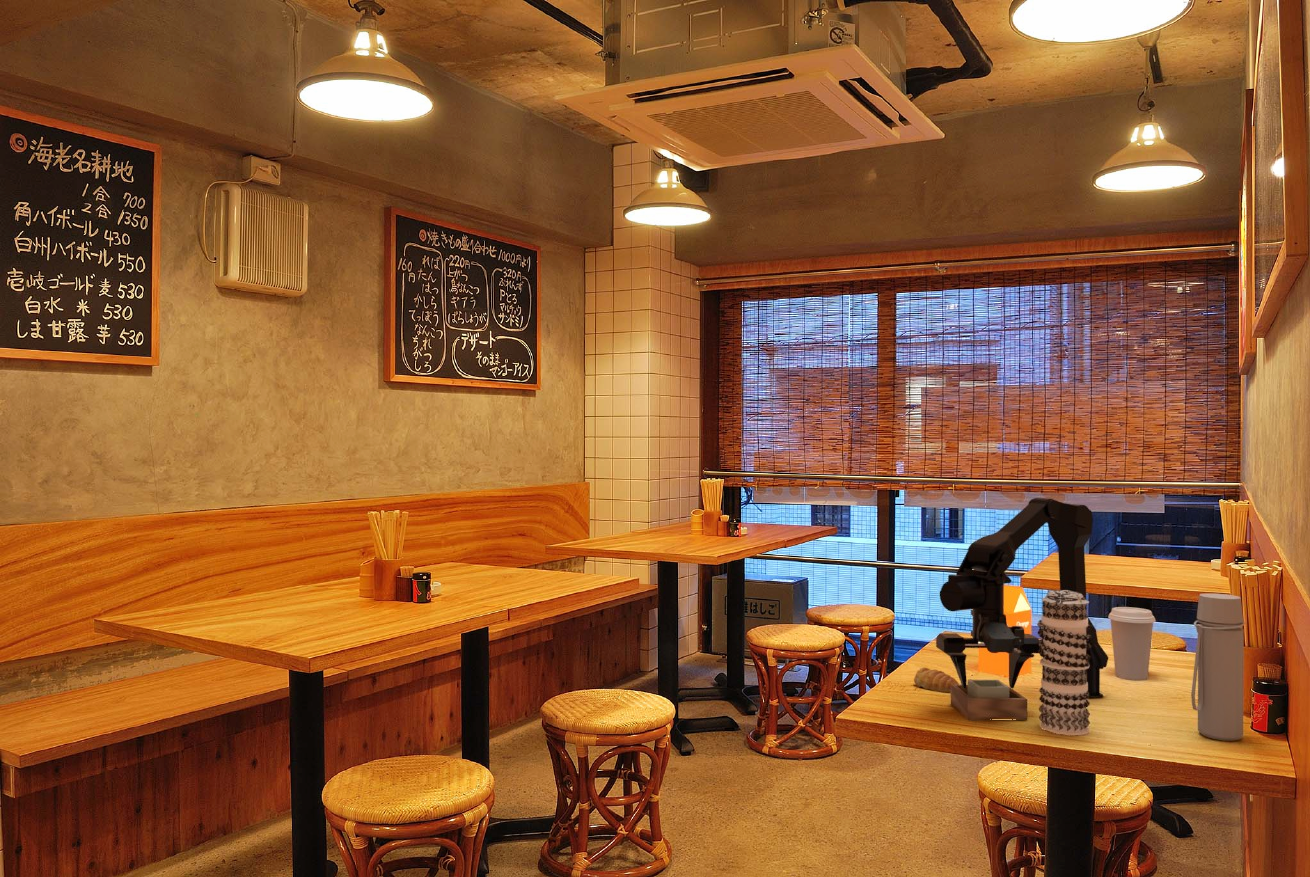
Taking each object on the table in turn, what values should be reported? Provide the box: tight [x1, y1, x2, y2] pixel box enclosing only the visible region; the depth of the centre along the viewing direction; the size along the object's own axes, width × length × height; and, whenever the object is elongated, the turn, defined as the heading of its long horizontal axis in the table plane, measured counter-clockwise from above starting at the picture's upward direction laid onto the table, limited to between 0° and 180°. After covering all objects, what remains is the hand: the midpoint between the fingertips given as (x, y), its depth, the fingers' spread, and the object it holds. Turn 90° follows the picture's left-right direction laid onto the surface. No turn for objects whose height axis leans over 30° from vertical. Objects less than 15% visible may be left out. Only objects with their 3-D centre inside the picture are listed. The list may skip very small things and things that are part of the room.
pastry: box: [913, 667, 960, 693], centre depth 206 cm, size 9×7×4 cm
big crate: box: [950, 684, 1028, 721], centre depth 188 cm, size 11×11×4 cm
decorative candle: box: [1036, 589, 1094, 736], centre depth 177 cm, size 9×9×25 cm
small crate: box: [967, 679, 1010, 698], centre depth 188 cm, size 6×6×5 cm
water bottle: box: [1190, 592, 1246, 742], centre depth 173 cm, size 9×8×25 cm
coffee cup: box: [1108, 606, 1157, 681], centre depth 217 cm, size 10×10×15 cm
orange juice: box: [978, 584, 1032, 678], centre depth 221 cm, size 8×9×20 cm
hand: (987, 687), depth 188 cm, fingers open, 9 cm apart
